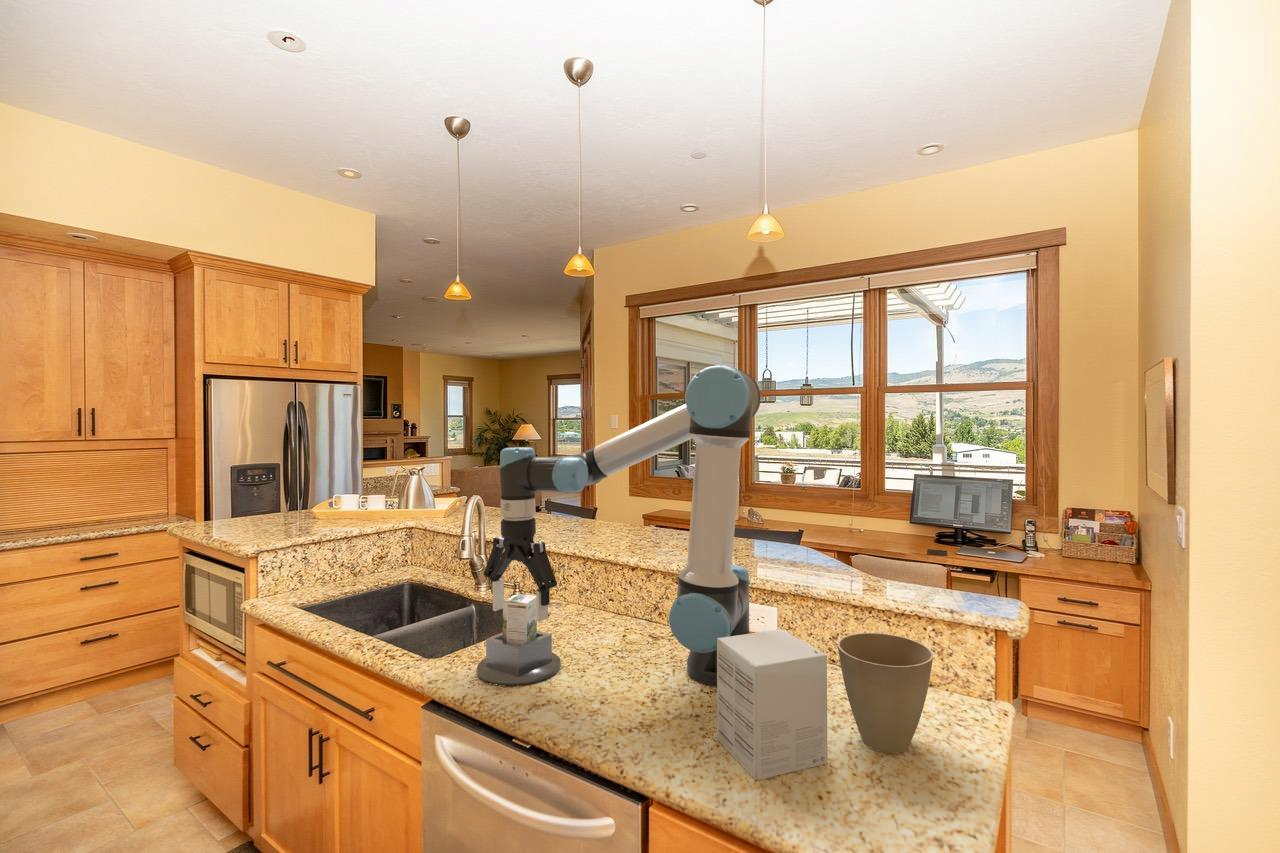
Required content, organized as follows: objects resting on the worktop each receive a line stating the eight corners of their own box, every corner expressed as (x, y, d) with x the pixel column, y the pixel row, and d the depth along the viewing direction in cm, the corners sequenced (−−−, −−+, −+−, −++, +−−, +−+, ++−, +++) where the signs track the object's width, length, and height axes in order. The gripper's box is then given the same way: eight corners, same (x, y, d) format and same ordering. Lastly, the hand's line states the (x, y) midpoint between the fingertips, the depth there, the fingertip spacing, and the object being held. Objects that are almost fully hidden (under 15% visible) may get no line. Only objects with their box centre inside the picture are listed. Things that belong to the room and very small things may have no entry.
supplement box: (782, 725, 108) (782, 627, 108) (829, 764, 96) (829, 654, 96) (715, 739, 104) (714, 636, 103) (755, 782, 91) (755, 666, 91)
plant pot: (840, 714, 112) (840, 628, 112) (929, 729, 107) (929, 638, 106) (835, 756, 98) (834, 657, 98) (937, 775, 93) (937, 671, 93)
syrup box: (513, 657, 137) (512, 593, 137) (537, 659, 136) (537, 595, 136) (502, 668, 131) (501, 601, 131) (527, 670, 130) (527, 602, 130)
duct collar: (577, 664, 136) (577, 632, 136) (518, 694, 121) (517, 658, 121) (520, 647, 146) (520, 618, 146) (459, 672, 131) (459, 640, 131)
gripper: (467, 515, 137) (468, 609, 138) (547, 525, 123) (549, 629, 123) (492, 511, 144) (494, 601, 144) (572, 519, 129) (574, 619, 129)
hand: (519, 614), depth 133 cm, fingers open, 13 cm apart
